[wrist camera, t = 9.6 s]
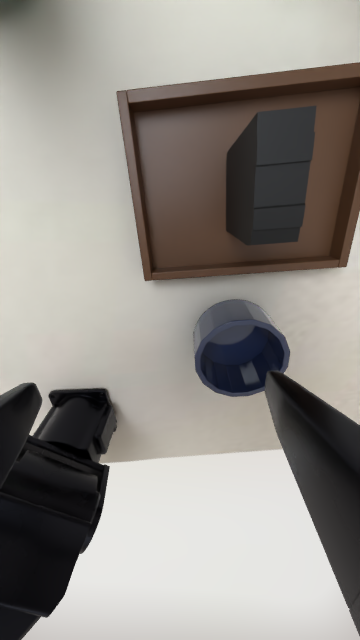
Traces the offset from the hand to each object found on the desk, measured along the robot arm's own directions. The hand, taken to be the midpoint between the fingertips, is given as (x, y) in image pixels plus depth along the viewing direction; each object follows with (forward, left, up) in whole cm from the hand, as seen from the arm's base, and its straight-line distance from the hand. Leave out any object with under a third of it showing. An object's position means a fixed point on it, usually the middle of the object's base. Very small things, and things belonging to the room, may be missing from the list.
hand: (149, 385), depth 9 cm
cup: (+6, -5, -13) cm, 15 cm away
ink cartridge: (+6, +7, -12) cm, 15 cm away
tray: (+6, +7, -13) cm, 15 cm away
